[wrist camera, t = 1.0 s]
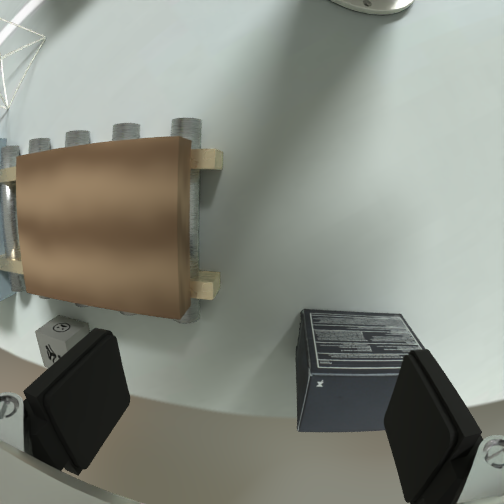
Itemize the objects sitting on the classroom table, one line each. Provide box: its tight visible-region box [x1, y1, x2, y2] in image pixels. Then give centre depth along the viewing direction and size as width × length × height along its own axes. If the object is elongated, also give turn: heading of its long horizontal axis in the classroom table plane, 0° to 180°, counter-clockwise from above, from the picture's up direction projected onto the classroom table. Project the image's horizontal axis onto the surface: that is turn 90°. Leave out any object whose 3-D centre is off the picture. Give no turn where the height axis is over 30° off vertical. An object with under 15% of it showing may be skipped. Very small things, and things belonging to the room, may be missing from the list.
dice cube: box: [35, 315, 90, 368], centre depth 31 cm, size 5×5×5 cm
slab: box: [16, 136, 192, 320], centre depth 24 cm, size 14×18×3 cm
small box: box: [295, 309, 425, 432], centre depth 24 cm, size 11×6×10 cm, turn 86°
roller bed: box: [0, 118, 223, 323], centre depth 28 cm, size 18×30×3 cm, turn 88°
